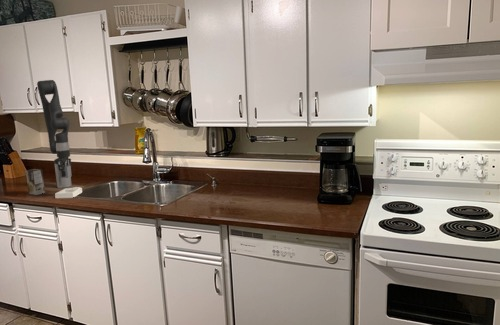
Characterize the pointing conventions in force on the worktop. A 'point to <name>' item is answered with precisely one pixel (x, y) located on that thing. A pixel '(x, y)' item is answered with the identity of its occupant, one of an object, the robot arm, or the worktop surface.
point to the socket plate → (68, 192)
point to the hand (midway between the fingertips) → (65, 175)
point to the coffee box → (35, 181)
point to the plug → (66, 172)
